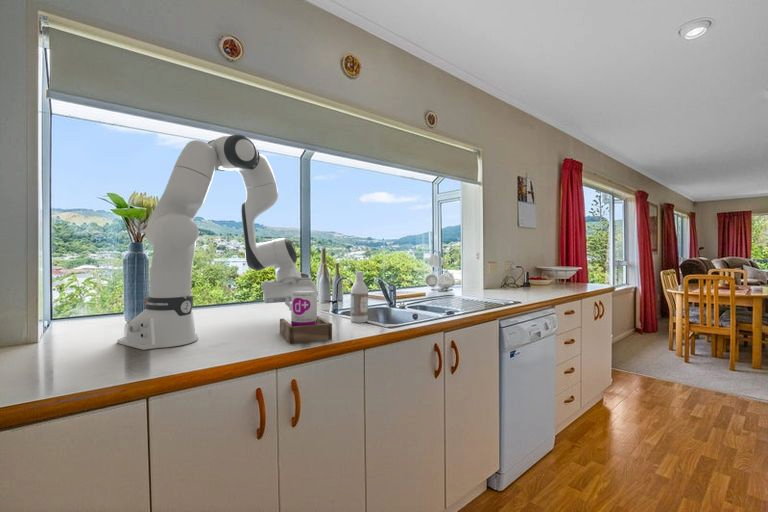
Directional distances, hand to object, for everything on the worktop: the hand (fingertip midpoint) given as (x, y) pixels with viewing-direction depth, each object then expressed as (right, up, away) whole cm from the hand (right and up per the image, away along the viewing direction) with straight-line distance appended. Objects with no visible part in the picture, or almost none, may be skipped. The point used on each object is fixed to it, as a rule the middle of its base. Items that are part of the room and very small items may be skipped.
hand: (293, 309), depth 135 cm
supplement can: (+7, -7, -14) cm, 17 cm away
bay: (+7, -7, -13) cm, 17 cm away
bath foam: (+23, -7, +12) cm, 27 cm away
